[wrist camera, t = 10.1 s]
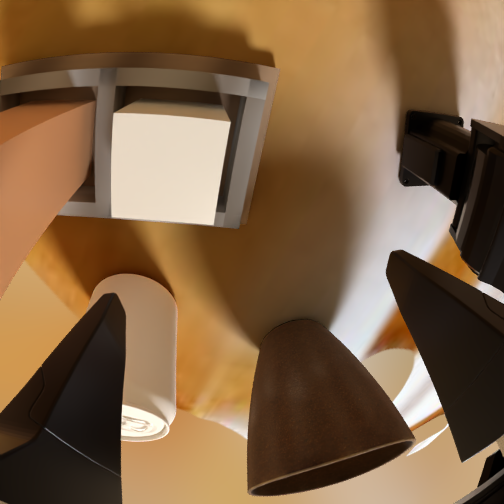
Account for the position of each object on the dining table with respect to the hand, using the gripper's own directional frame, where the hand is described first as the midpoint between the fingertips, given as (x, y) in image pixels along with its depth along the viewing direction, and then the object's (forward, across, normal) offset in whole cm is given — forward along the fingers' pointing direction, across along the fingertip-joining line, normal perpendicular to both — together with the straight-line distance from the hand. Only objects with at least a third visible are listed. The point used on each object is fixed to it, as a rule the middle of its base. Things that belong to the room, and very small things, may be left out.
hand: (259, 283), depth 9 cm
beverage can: (+13, +10, +12) cm, 20 cm away
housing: (+13, +7, -3) cm, 15 cm away
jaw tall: (+12, +11, -4) cm, 17 cm away
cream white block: (+12, +3, -2) cm, 12 cm away
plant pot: (+13, -5, +21) cm, 25 cm away
